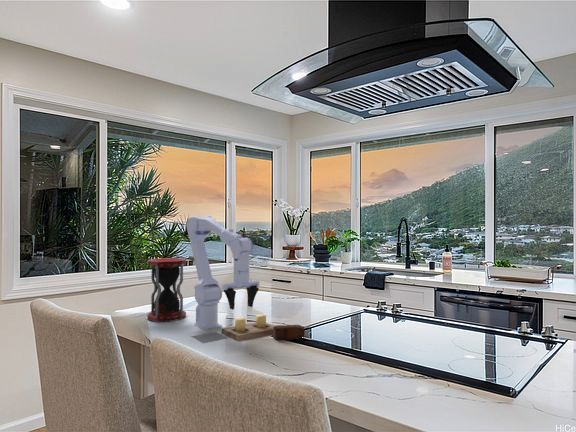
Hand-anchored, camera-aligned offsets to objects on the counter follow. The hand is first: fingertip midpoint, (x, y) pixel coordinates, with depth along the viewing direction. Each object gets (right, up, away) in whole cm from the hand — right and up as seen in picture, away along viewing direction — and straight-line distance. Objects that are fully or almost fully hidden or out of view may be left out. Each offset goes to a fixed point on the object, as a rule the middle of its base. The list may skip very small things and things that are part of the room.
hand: (241, 307), depth 152 cm
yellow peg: (0, -10, -1) cm, 10 cm away
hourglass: (-35, -10, +27) cm, 45 cm away
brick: (+17, -10, -5) cm, 21 cm away
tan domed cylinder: (+7, -10, +4) cm, 13 cm away
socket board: (+3, -10, +2) cm, 11 cm away
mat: (-11, -10, -5) cm, 15 cm away
